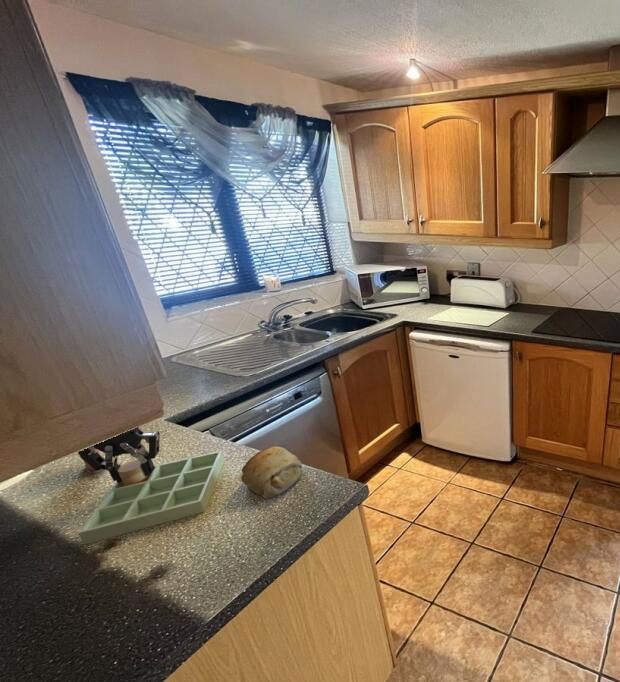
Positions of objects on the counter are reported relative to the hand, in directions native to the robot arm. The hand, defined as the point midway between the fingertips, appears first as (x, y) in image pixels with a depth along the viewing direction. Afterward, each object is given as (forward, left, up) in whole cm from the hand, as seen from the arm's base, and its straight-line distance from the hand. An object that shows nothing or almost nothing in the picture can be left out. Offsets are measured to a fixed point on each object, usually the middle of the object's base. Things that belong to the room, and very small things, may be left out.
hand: (135, 476), depth 90 cm
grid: (+6, -6, -3) cm, 10 cm away
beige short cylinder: (0, 0, 0) cm, 0 cm away
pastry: (+29, -11, -3) cm, 32 cm away
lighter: (-14, +15, -3) cm, 20 cm away
